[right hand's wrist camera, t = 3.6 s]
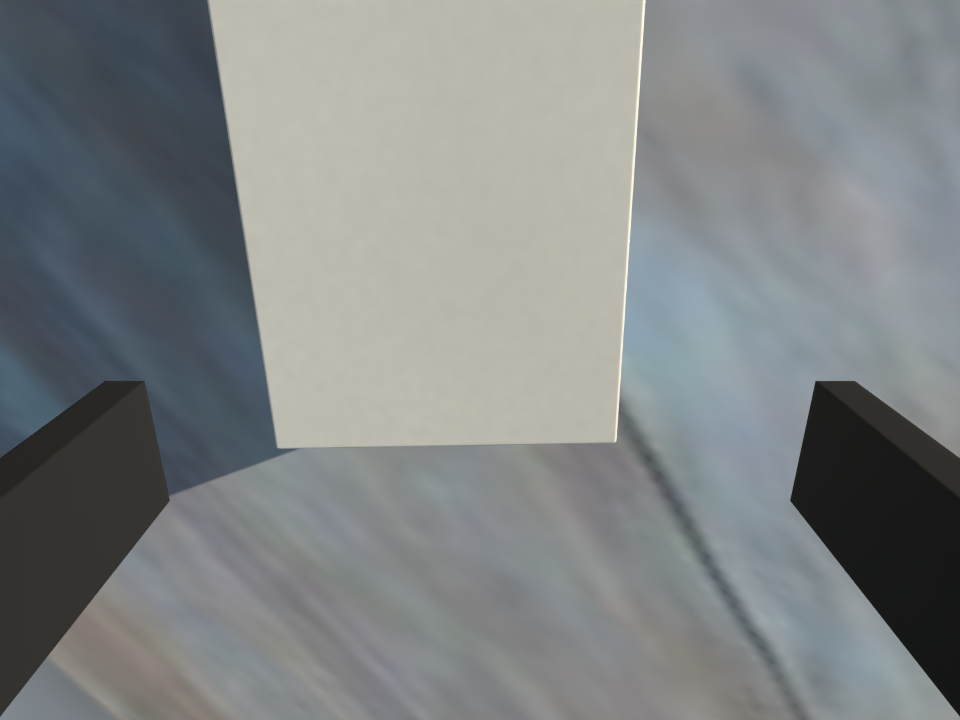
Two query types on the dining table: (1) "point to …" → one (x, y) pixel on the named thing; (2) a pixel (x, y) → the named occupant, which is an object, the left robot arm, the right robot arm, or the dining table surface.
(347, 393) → the cabinet
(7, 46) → the dining table surface
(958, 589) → the right robot arm
